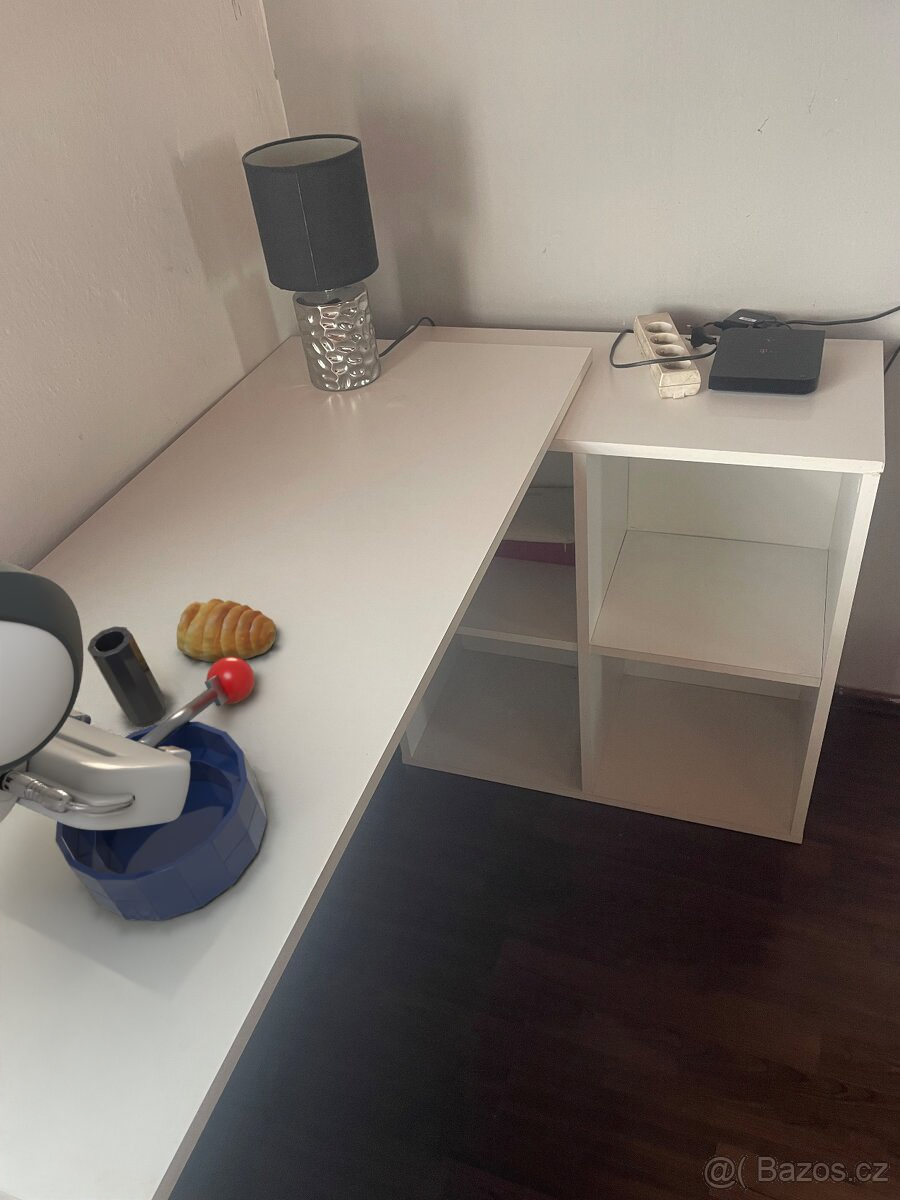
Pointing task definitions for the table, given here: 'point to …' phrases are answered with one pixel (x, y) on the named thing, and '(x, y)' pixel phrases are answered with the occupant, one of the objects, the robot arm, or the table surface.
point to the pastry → (223, 631)
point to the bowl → (176, 836)
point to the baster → (208, 697)
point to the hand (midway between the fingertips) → (130, 741)
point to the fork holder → (128, 676)
